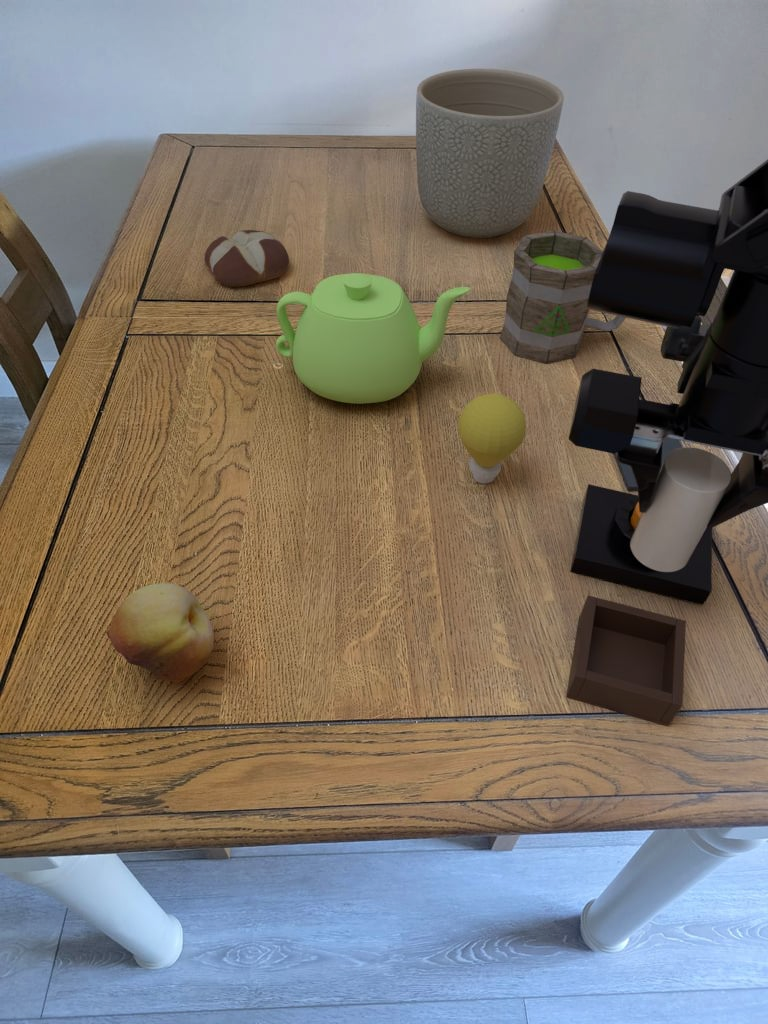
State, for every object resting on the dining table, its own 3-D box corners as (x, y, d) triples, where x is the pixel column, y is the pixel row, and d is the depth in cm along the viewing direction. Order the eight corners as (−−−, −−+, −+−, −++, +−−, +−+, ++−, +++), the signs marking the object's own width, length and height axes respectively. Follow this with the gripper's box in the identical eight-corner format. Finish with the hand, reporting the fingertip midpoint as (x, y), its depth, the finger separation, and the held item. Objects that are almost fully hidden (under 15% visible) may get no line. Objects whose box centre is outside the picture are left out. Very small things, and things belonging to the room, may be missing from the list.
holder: (672, 643, 61) (686, 620, 59) (668, 726, 56) (682, 705, 53) (578, 618, 63) (587, 595, 60) (565, 697, 57) (575, 675, 55)
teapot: (459, 348, 90) (470, 251, 81) (457, 424, 80) (469, 324, 71) (289, 337, 91) (280, 240, 82) (266, 411, 81) (252, 310, 72)
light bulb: (528, 478, 75) (546, 403, 67) (484, 508, 72) (498, 433, 64) (482, 445, 78) (494, 371, 71) (438, 473, 75) (446, 398, 68)
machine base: (704, 527, 70) (719, 499, 67) (703, 605, 64) (719, 579, 61) (583, 498, 73) (592, 471, 70) (570, 572, 66) (579, 544, 63)
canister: (689, 535, 58) (731, 454, 51) (688, 578, 55) (732, 498, 48) (631, 522, 58) (665, 441, 52) (628, 564, 56) (663, 483, 49)
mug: (503, 362, 88) (518, 274, 80) (496, 315, 96) (509, 229, 87) (628, 366, 88) (658, 278, 79) (612, 318, 96) (637, 233, 87)
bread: (298, 278, 101) (295, 245, 98) (221, 296, 98) (215, 262, 94) (272, 244, 108) (268, 212, 104) (199, 259, 105) (193, 226, 101)
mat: (699, 489, 74) (701, 485, 73) (627, 490, 74) (629, 487, 73) (676, 441, 79) (677, 437, 78) (609, 442, 79) (610, 438, 78)
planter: (537, 197, 121) (559, 71, 107) (542, 257, 107) (569, 121, 93) (415, 190, 122) (422, 64, 108) (405, 248, 108) (411, 112, 94)
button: (671, 515, 66) (677, 502, 65) (669, 543, 64) (675, 530, 63) (632, 506, 67) (637, 493, 66) (629, 533, 65) (634, 520, 64)
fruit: (198, 712, 56) (178, 659, 50) (105, 686, 58) (75, 631, 52) (237, 633, 61) (223, 577, 55) (150, 611, 62) (127, 554, 57)
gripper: (905, 298, 46) (797, 471, 57) (611, 253, 49) (565, 425, 61) (943, 402, 38) (811, 576, 50) (596, 340, 42) (547, 516, 53)
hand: (675, 515), depth 54 cm, fingers closed on canister, 4 cm apart
